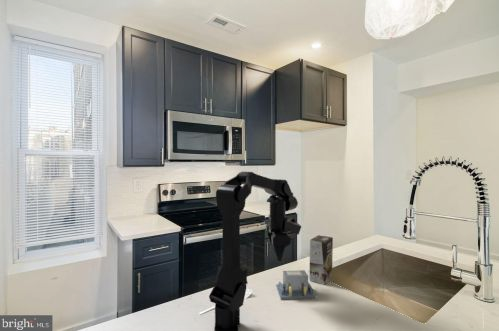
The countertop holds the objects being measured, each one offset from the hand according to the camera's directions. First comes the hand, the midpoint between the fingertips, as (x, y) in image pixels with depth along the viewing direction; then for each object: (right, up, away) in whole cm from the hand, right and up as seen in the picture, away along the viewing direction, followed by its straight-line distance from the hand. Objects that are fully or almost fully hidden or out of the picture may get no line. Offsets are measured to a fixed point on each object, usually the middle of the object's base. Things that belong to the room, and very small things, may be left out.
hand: (277, 256), depth 93 cm
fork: (-18, -13, -10) cm, 24 cm away
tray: (+6, -12, -2) cm, 14 cm away
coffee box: (+18, -12, +8) cm, 24 cm away
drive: (+6, -11, -3) cm, 13 cm away
